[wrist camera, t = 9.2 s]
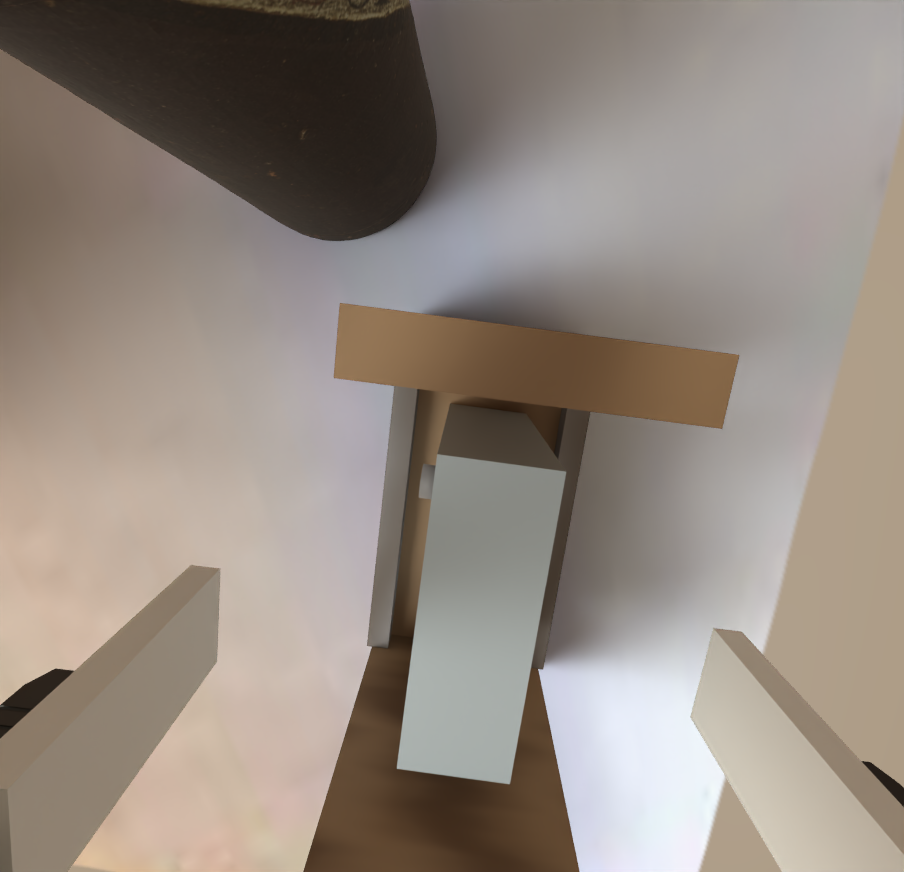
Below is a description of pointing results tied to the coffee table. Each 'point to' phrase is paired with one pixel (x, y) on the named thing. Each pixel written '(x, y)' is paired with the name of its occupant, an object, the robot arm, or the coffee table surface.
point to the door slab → (479, 593)
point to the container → (255, 95)
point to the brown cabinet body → (401, 561)
